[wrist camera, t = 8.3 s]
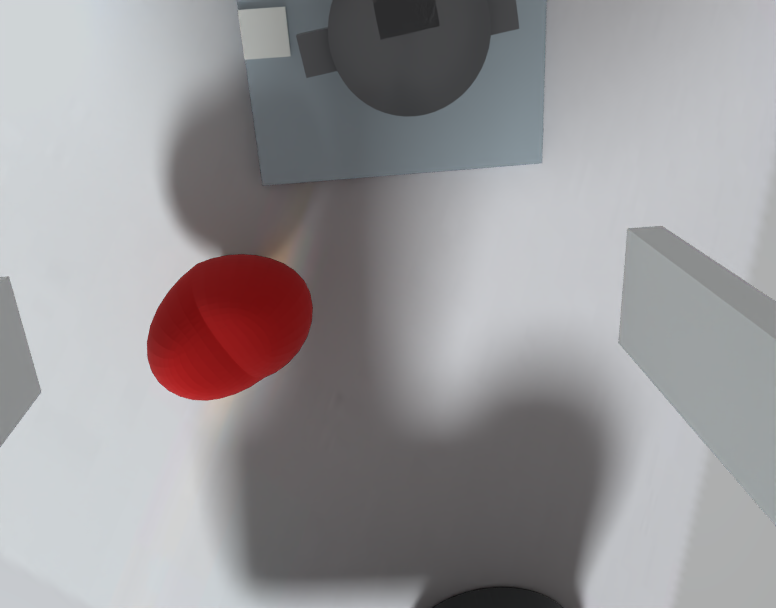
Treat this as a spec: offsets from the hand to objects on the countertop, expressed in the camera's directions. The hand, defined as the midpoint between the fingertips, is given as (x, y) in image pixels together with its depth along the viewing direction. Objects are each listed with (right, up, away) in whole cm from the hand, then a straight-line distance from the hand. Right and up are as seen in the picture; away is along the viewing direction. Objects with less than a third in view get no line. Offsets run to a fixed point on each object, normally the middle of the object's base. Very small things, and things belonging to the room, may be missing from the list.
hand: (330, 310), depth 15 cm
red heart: (-8, +2, +28) cm, 30 cm away
